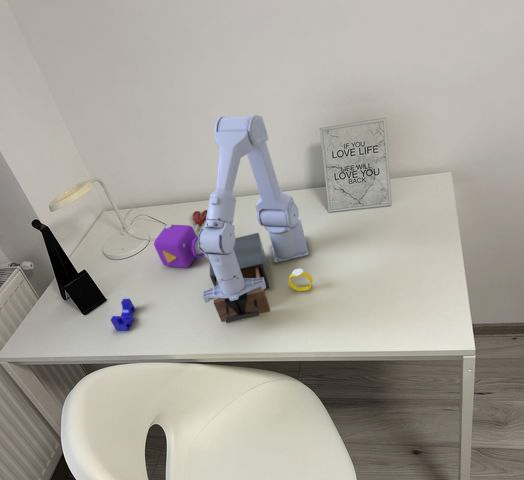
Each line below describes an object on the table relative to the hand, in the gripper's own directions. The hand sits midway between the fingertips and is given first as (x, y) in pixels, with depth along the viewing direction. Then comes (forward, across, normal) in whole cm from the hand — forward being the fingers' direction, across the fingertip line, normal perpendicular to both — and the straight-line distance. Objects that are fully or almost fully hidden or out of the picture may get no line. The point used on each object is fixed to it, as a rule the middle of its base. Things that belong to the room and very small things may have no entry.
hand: (243, 315), depth 131 cm
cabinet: (+3, 0, +18) cm, 19 cm away
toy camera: (+3, -16, +33) cm, 37 cm away
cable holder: (+4, -32, +12) cm, 34 cm away
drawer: (+3, 0, +6) cm, 7 cm away
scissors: (+3, -13, +49) cm, 51 cm away
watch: (+4, +15, +8) cm, 18 cm away
